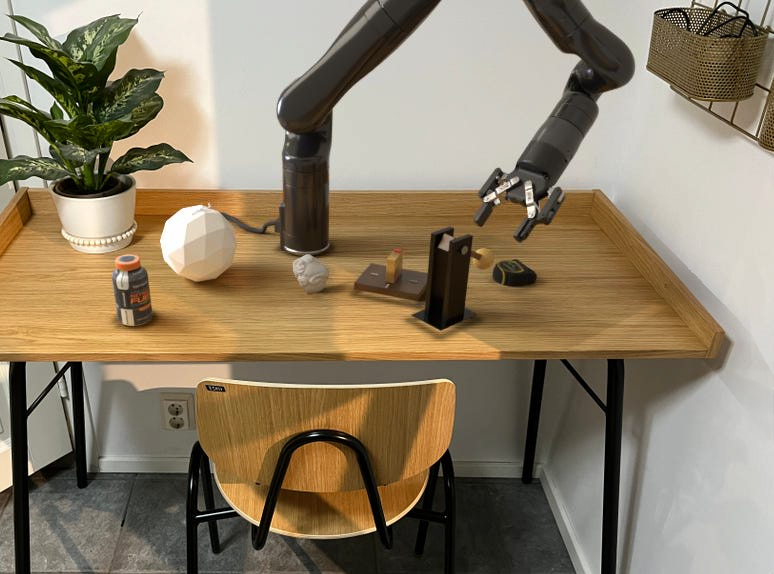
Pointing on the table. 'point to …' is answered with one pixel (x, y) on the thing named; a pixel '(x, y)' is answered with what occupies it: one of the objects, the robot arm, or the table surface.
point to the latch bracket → (447, 281)
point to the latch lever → (472, 253)
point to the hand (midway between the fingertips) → (496, 232)
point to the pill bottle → (131, 291)
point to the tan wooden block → (394, 266)
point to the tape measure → (513, 273)
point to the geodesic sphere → (198, 243)
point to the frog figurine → (310, 274)
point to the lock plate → (404, 287)
